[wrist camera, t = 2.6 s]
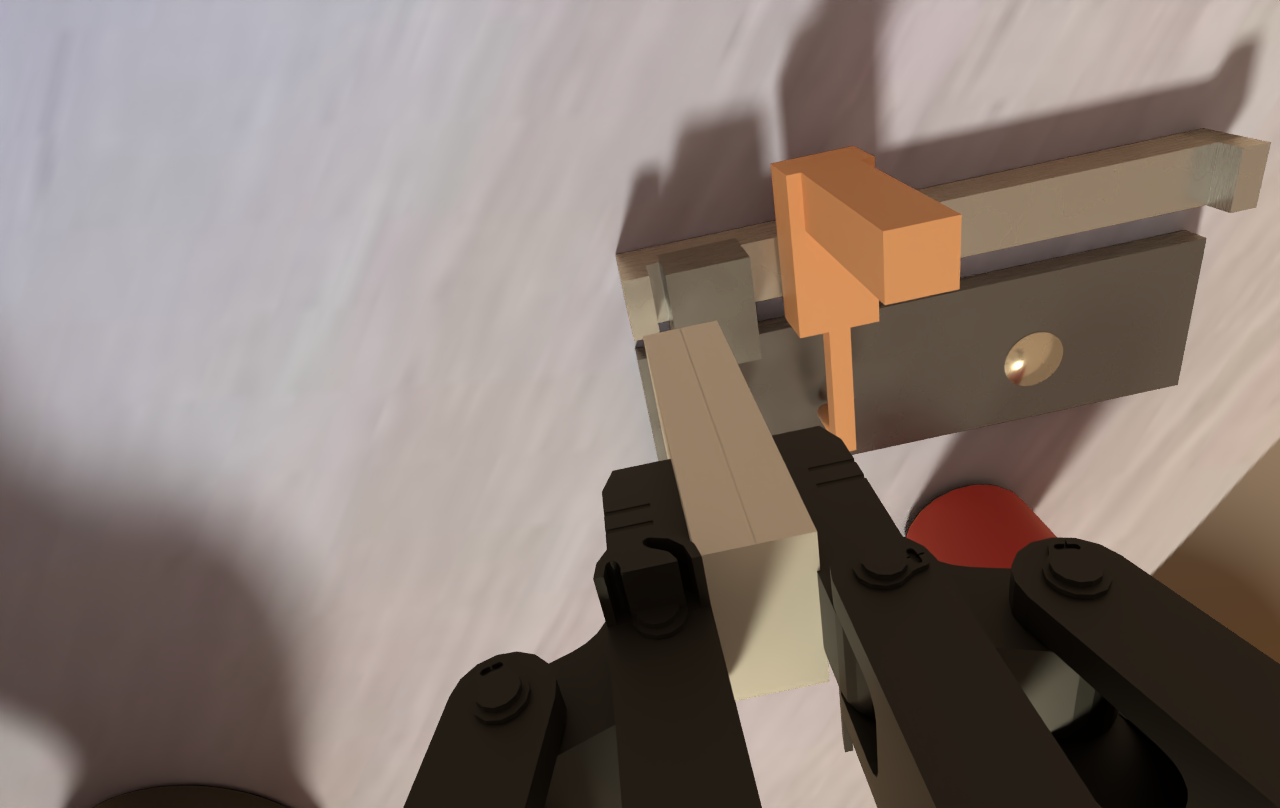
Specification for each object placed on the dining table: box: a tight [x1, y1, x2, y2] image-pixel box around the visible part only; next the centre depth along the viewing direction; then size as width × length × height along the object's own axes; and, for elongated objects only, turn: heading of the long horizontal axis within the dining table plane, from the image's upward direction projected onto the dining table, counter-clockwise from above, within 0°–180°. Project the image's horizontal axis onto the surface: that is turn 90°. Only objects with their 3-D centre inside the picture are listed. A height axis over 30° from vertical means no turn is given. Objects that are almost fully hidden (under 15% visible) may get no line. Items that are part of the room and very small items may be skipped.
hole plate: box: [635, 230, 1206, 461], centre depth 33 cm, size 24×7×1 cm, turn 101°
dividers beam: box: [616, 128, 1271, 364], centre depth 30 cm, size 24×9×4 cm, turn 101°
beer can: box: [906, 485, 1057, 568], centre depth 34 cm, size 7×7×12 cm
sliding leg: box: [771, 146, 962, 451], centre depth 25 cm, size 3×12×10 cm, turn 11°
